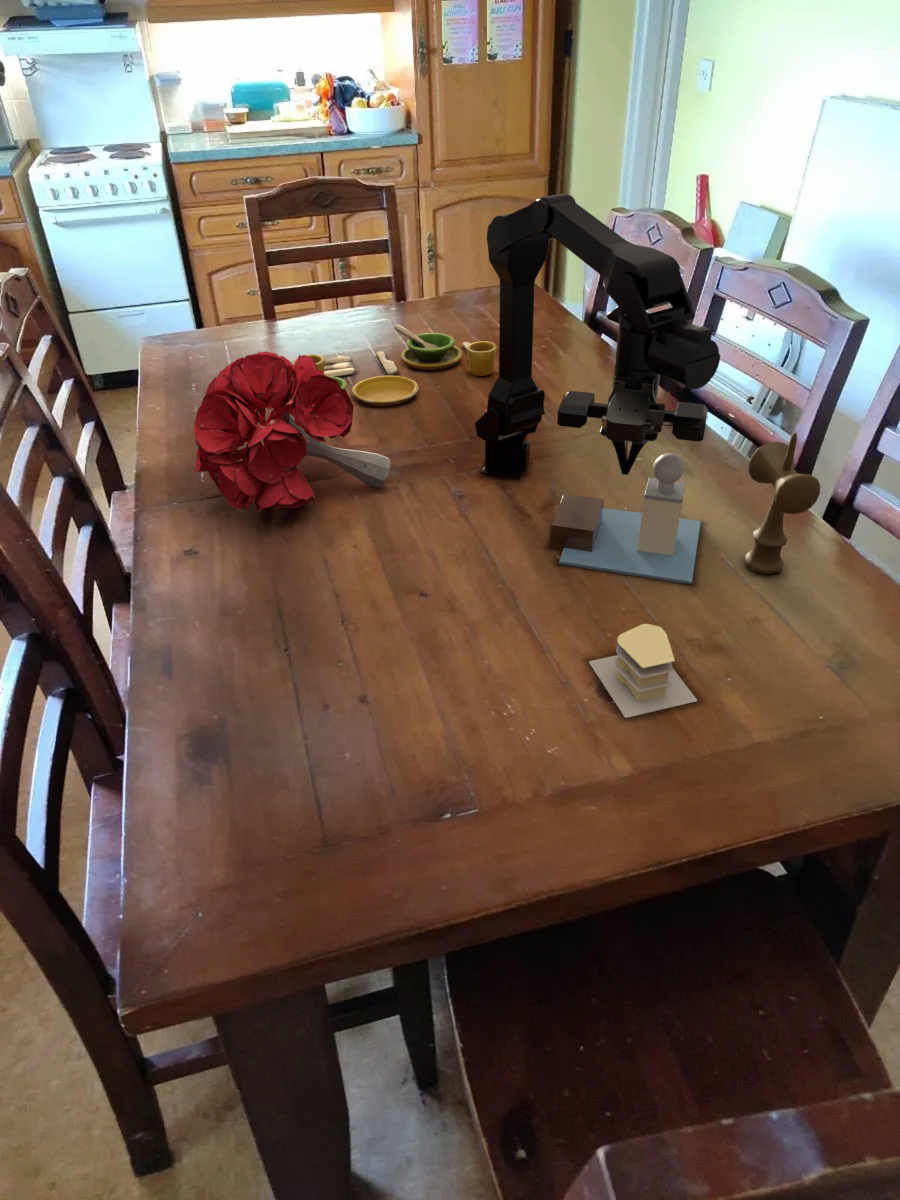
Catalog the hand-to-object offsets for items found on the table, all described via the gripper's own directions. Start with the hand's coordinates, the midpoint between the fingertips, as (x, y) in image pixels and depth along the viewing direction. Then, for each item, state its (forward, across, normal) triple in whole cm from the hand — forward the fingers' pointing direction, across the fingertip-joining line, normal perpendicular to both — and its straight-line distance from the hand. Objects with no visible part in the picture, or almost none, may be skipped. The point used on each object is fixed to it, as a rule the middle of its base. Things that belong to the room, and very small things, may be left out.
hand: (625, 473), depth 117 cm
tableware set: (+11, -52, +48) cm, 72 cm away
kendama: (+11, +20, -1) cm, 23 cm away
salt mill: (+7, +1, 0) cm, 7 cm away
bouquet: (+11, -50, -1) cm, 51 cm away
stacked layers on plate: (+11, +7, -29) cm, 32 cm away
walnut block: (+11, -6, 0) cm, 13 cm away
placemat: (+11, +2, 0) cm, 11 cm away
